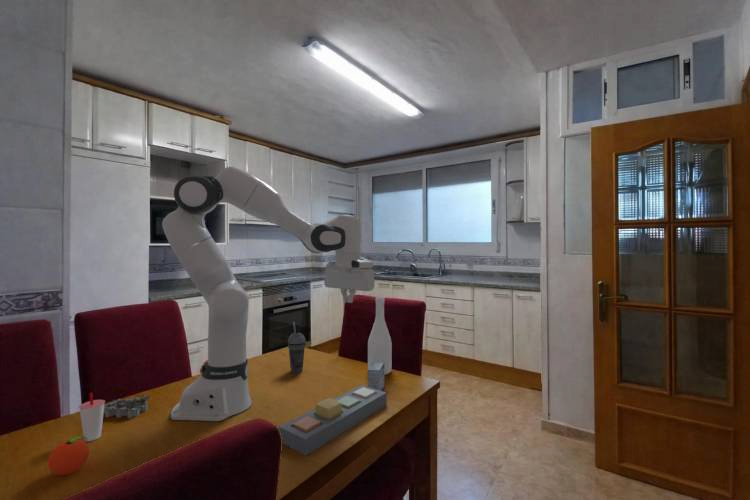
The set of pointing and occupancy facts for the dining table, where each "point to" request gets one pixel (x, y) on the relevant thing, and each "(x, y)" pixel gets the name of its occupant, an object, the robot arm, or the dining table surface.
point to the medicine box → (376, 376)
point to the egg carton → (126, 407)
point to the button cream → (364, 393)
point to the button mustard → (328, 409)
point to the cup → (92, 418)
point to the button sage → (348, 402)
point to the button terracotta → (306, 424)
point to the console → (331, 422)
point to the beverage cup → (296, 351)
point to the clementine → (68, 456)
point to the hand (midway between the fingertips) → (348, 302)
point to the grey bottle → (380, 340)
